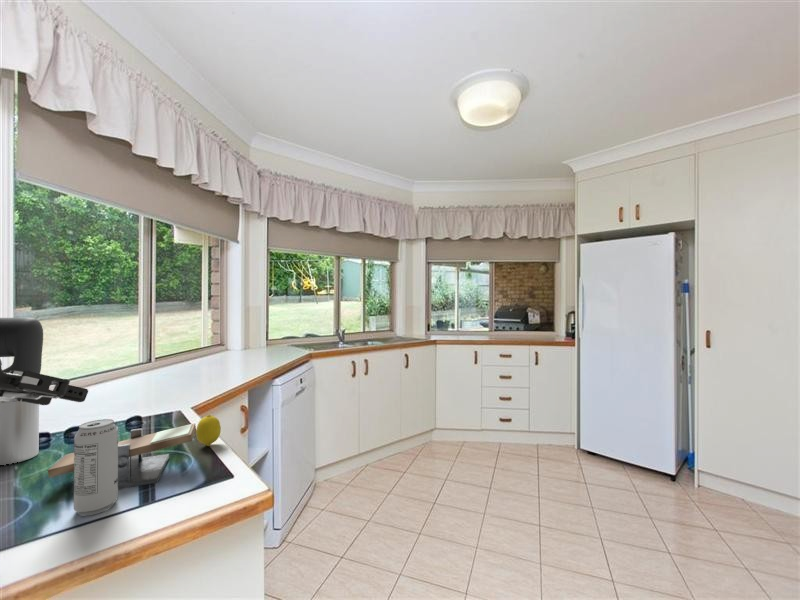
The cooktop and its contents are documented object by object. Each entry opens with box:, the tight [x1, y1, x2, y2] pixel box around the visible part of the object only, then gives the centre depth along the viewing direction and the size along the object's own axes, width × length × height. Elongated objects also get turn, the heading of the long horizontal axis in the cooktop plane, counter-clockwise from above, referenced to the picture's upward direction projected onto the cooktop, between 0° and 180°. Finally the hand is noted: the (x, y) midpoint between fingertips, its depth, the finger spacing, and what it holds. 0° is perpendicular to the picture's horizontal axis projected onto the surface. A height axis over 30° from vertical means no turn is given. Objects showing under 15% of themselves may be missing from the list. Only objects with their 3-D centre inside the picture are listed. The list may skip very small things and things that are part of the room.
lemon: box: [195, 414, 222, 447], centre depth 94 cm, size 6×6×8 cm
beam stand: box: [118, 427, 170, 490], centre depth 78 cm, size 12×13×8 cm
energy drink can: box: [73, 418, 119, 517], centre depth 65 cm, size 6×6×15 cm
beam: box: [47, 423, 197, 478], centre depth 78 cm, size 24×8×2 cm, turn 114°
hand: (67, 397), depth 63 cm, fingers open, 8 cm apart
